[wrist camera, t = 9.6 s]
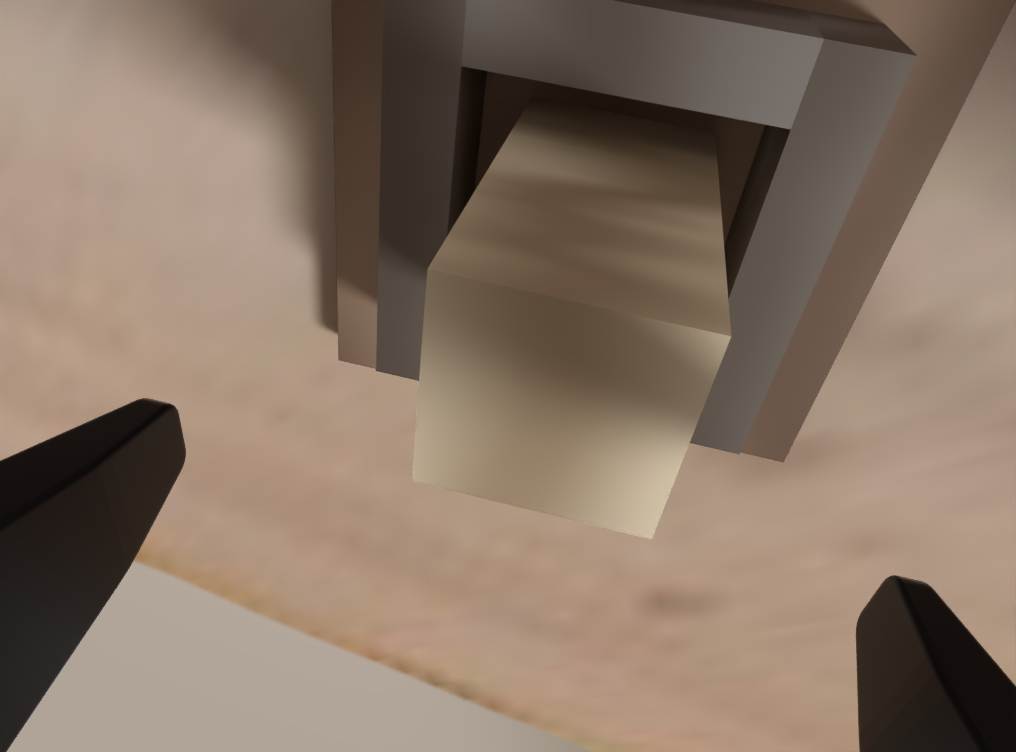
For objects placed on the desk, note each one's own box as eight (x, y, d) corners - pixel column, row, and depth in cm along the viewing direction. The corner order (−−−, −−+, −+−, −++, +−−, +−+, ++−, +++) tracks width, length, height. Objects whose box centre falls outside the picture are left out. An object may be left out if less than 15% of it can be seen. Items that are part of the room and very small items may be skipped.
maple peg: (715, 133, 16) (731, 336, 9) (665, 292, 18) (651, 539, 12) (532, 96, 16) (427, 269, 10) (508, 258, 18) (411, 480, 12)
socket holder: (1034, -87, 13) (1125, -66, 10) (779, 438, 21) (793, 529, 18) (347, -199, 14) (265, -207, 11) (350, 341, 22) (302, 413, 19)
